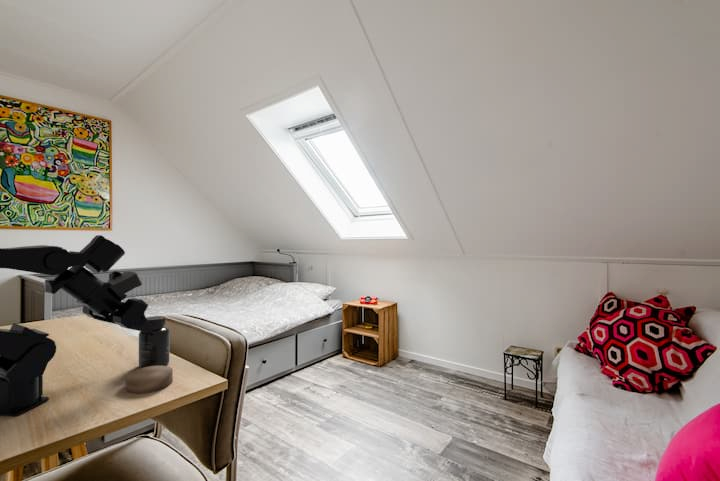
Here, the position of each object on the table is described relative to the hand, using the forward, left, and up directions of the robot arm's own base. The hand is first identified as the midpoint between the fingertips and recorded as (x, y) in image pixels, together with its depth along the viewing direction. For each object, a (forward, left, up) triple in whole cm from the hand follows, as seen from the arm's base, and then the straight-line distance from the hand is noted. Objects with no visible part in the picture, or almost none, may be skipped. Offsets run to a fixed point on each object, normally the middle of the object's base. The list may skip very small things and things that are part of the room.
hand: (140, 328), depth 88 cm
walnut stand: (-8, -8, -10) cm, 15 cm away
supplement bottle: (+3, -2, -10) cm, 11 cm away
